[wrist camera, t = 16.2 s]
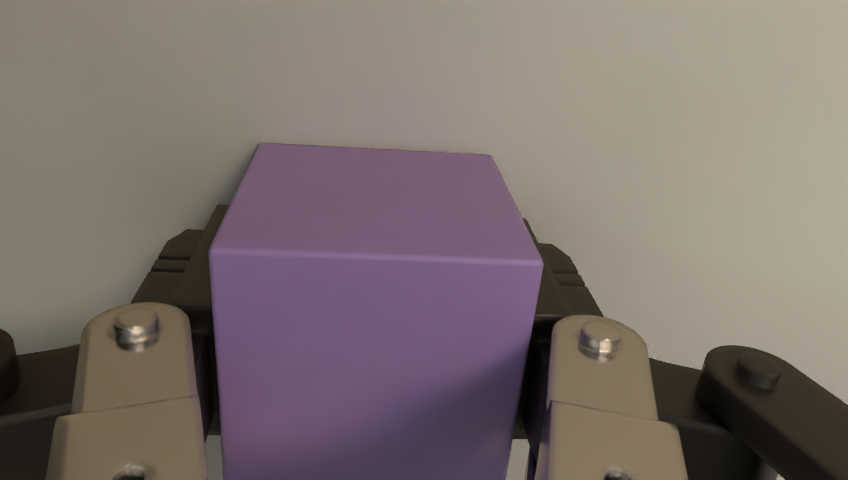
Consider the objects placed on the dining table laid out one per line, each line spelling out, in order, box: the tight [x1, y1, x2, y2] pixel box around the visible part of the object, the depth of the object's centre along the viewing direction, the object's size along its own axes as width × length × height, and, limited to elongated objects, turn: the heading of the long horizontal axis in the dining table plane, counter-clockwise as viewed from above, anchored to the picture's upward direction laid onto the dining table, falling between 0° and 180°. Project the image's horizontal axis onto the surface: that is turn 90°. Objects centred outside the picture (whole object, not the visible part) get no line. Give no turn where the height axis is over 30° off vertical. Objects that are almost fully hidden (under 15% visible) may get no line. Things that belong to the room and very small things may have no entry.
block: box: [208, 143, 544, 480], centre depth 11 cm, size 4×4×4 cm
